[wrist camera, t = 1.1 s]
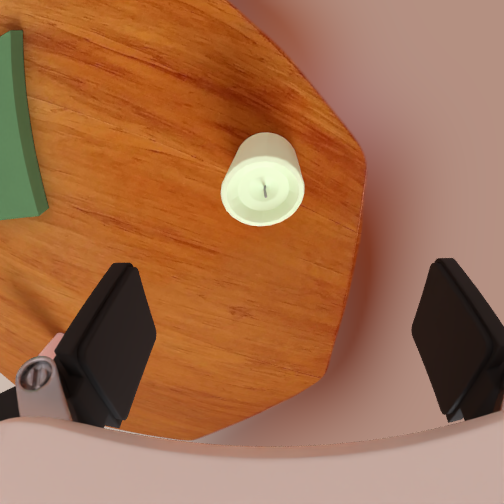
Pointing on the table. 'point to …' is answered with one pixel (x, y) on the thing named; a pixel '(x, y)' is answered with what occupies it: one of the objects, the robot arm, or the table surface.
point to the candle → (263, 181)
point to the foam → (17, 137)
